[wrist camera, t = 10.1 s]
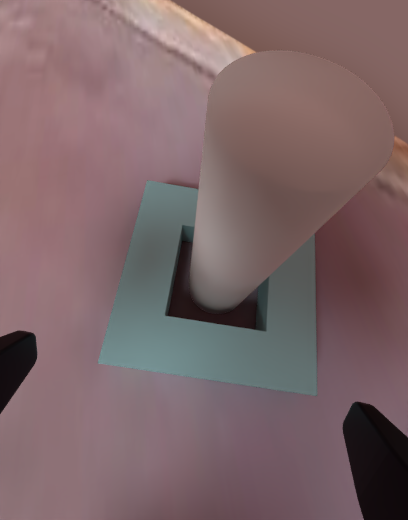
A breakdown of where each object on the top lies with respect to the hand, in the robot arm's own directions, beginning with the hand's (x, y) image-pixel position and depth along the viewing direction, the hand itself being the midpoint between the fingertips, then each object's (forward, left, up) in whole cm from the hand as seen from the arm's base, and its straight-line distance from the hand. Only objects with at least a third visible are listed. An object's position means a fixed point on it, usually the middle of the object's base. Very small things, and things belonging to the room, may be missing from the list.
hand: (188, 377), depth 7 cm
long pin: (+6, -1, -10) cm, 11 cm away
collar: (+6, -1, -10) cm, 11 cm away
